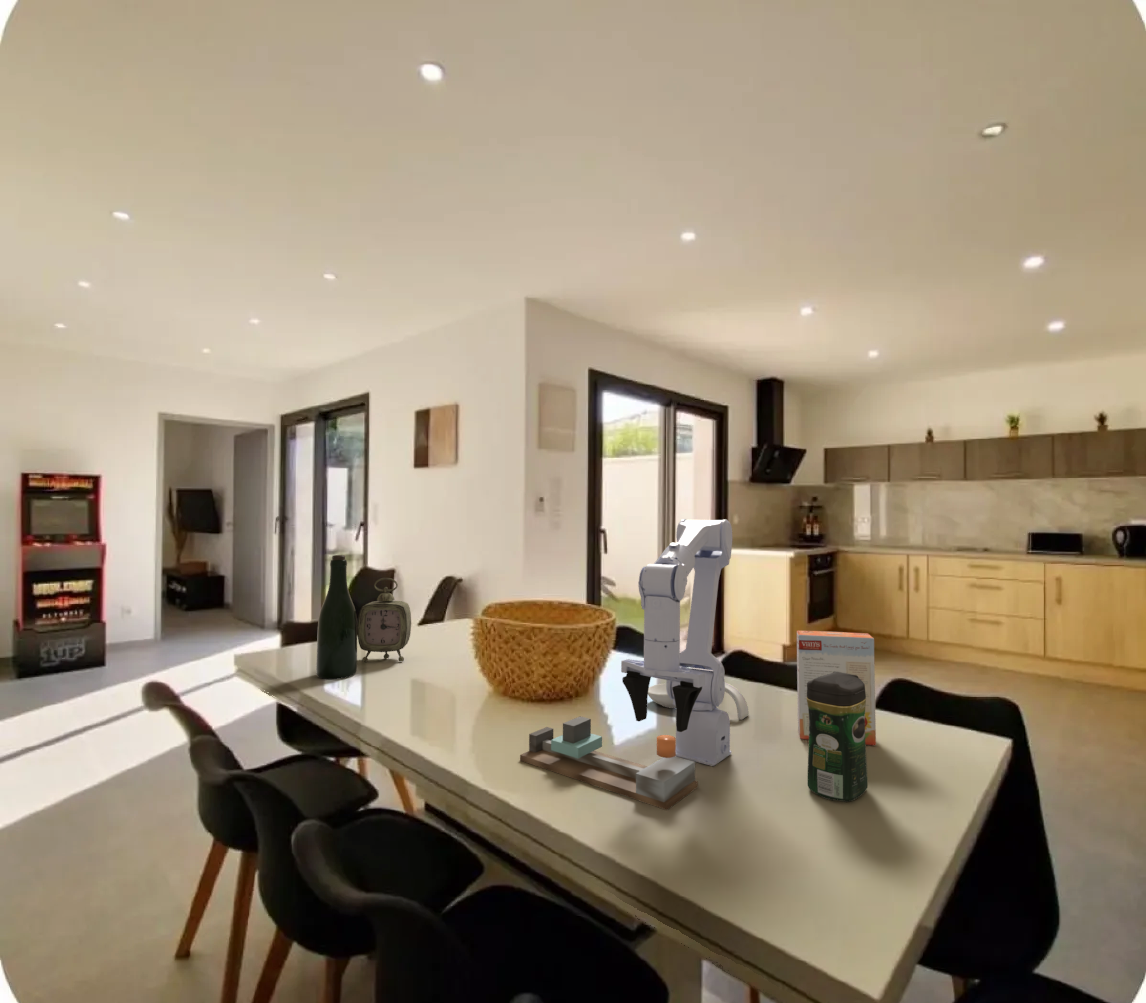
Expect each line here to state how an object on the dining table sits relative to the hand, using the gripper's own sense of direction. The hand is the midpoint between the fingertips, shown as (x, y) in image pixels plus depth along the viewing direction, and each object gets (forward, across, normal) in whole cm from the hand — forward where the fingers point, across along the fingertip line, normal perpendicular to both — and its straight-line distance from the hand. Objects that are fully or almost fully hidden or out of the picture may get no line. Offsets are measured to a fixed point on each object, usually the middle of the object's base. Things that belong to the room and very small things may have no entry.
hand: (661, 724), depth 98 cm
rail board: (+11, -11, 0) cm, 16 cm away
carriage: (+8, -17, 0) cm, 19 cm away
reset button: (+5, +1, +1) cm, 5 cm away
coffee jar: (+11, +21, +19) cm, 31 cm away
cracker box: (+10, +13, +44) cm, 47 cm away
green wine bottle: (+10, -107, +4) cm, 107 cm away
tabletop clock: (+10, -112, +23) cm, 115 cm away
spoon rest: (+10, -18, +43) cm, 48 cm away
